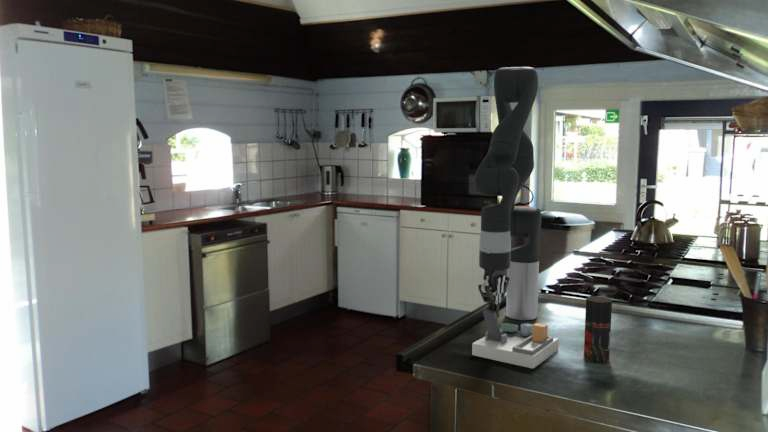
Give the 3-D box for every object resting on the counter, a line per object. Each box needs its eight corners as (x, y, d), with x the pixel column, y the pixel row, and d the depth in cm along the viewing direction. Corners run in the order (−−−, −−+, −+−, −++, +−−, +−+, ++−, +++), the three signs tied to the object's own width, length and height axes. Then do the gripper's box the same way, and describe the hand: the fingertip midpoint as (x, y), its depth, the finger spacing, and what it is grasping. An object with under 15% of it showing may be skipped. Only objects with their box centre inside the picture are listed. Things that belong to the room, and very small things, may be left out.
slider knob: (535, 338, 161) (536, 322, 160) (547, 340, 159) (547, 324, 159) (532, 340, 159) (532, 325, 159) (543, 342, 157) (544, 327, 157)
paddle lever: (490, 336, 160) (484, 309, 156) (501, 339, 159) (495, 311, 155) (489, 339, 160) (482, 311, 156) (500, 341, 158) (493, 313, 154)
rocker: (507, 329, 168) (507, 323, 168) (517, 331, 166) (518, 325, 166) (500, 329, 165) (501, 323, 165) (511, 331, 163) (512, 325, 163)
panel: (500, 338, 171) (500, 320, 170) (558, 350, 162) (558, 331, 161) (472, 355, 158) (472, 335, 158) (533, 368, 149) (533, 348, 148)
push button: (523, 331, 166) (523, 322, 166) (535, 333, 164) (535, 324, 164) (518, 334, 163) (518, 325, 163) (530, 337, 162) (530, 327, 161)
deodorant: (610, 364, 152) (613, 303, 150) (585, 362, 153) (587, 301, 151) (607, 356, 158) (610, 296, 156) (582, 354, 159) (584, 295, 157)
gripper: (493, 243, 163) (491, 309, 165) (468, 251, 152) (467, 321, 154) (520, 246, 158) (518, 314, 160) (497, 254, 148) (495, 327, 150)
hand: (493, 317), depth 157 cm, fingers closed
